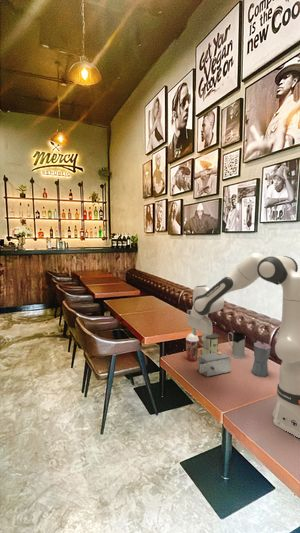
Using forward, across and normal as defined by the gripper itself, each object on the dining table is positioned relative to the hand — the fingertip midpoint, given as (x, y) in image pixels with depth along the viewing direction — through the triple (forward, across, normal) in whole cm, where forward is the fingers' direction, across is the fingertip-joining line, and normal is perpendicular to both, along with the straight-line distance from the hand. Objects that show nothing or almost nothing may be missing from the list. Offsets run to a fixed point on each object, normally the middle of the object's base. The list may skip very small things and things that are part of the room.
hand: (198, 337), depth 155 cm
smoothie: (+22, +17, -8) cm, 29 cm away
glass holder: (+22, +14, -40) cm, 47 cm away
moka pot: (+22, -13, -34) cm, 43 cm away
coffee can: (+22, +18, -22) cm, 36 cm away
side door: (+21, -6, -9) cm, 23 cm away
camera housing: (+21, -1, -11) cm, 24 cm away
